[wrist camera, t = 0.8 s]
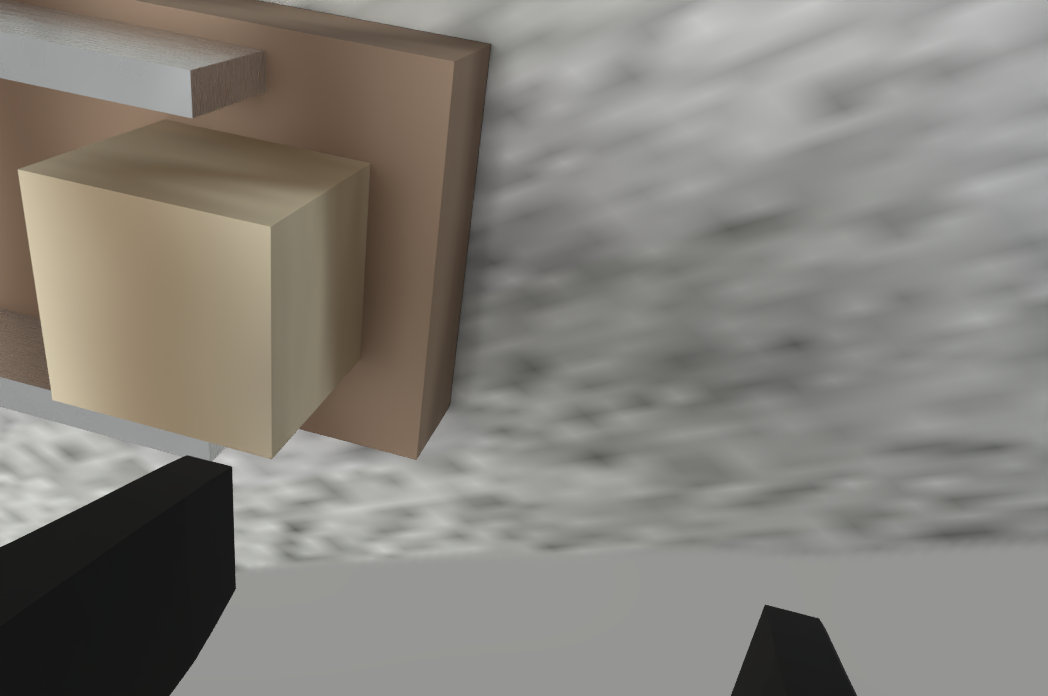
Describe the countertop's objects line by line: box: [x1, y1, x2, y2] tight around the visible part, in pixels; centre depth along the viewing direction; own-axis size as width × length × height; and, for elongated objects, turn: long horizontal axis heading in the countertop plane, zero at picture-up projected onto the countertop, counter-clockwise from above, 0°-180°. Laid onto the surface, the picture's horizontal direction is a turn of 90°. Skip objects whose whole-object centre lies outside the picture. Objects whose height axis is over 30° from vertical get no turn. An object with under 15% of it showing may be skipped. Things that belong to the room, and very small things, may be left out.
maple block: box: [18, 119, 370, 459], centre depth 16 cm, size 4×4×4 cm
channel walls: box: [0, 0, 266, 461], centre depth 18 cm, size 8×8×2 cm
